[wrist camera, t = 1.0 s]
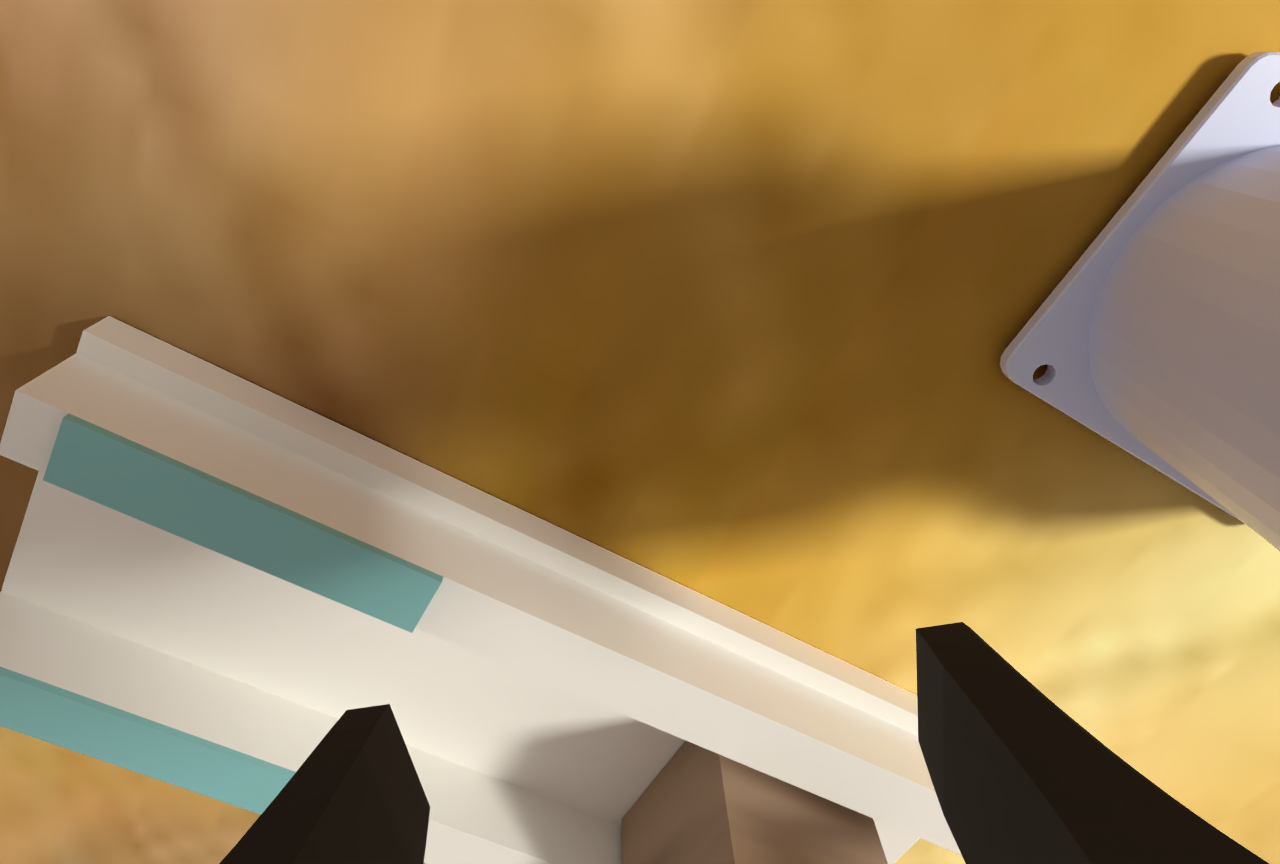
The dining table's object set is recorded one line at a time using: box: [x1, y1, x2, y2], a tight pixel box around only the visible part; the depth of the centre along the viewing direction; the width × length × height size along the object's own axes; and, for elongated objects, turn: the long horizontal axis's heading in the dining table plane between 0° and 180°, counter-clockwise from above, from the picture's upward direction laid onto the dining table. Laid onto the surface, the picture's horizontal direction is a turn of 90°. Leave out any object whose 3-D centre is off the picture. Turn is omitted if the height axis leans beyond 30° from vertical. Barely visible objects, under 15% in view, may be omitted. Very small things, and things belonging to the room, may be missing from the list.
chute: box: [0, 316, 962, 864], centre depth 22 cm, size 26×10×3 cm, turn 60°
